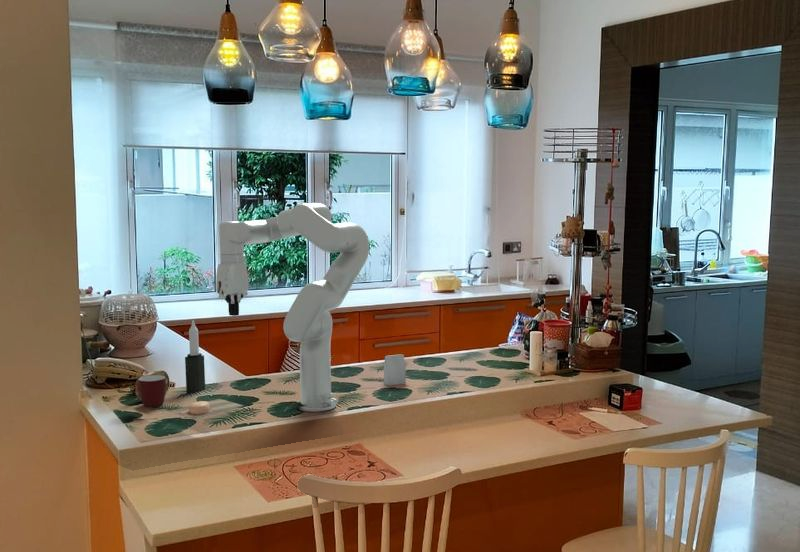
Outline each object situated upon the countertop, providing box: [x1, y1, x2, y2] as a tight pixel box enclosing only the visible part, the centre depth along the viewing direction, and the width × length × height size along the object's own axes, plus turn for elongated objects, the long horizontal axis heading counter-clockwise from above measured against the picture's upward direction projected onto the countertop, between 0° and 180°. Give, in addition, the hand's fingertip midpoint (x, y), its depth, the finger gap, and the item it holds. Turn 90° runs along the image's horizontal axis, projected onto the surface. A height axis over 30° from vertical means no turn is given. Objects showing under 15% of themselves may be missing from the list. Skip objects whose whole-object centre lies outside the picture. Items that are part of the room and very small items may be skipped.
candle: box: [184, 319, 206, 395], centre depth 262 cm, size 5×5×25 cm
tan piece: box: [170, 398, 245, 420], centre depth 240 cm, size 13×18×2 cm
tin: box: [134, 370, 170, 402], centre depth 258 cm, size 15×3×8 cm, turn 160°
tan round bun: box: [188, 400, 211, 415], centre depth 237 cm, size 6×6×3 cm
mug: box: [138, 375, 166, 408], centre depth 245 cm, size 11×8×10 cm
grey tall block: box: [383, 353, 407, 386], centre depth 274 cm, size 4×7×10 cm, turn 111°
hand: (234, 315), depth 257 cm, fingers closed
